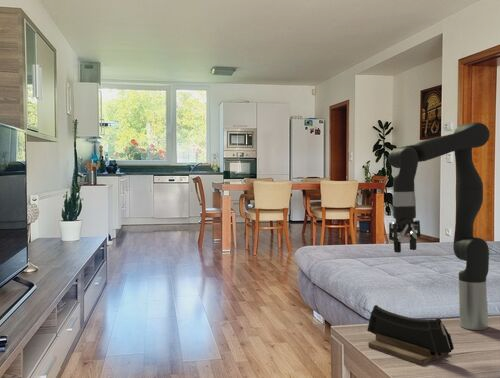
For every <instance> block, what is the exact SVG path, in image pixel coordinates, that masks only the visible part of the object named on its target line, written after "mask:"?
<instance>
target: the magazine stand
mask: <svg viewBox="0 0 500 378" xmlns="http://www.w3.org/2000/svg"><path fill="white" fill-rule="evenodd" d="M367 344H368V348H370V347H371V348H370V349H373V348H374V349H373V350H376V349H377V351H379V352H382V353H384V354H385V353H386V354H388V355H391V356H394V357H396V358H399V359H402V360H405V361H408V362H411V363H415V364H416V365H420V366H423V365H425V364H427V363H431V362H433V361H435V360H439V359H440V358H442V357H446V356H447V355H449V354H450V353H441V354H442V356H439V355H438V353H433V352H431V350H429V349H426V348H423V347H420V346H417V345H413V344H410V343H407V342H404V341H400V340H397V339H394V338H391V337H388V336H384V335H381V334H378V333H377V334H376V335H375V340H371V341H368V343H367Z"/></svg>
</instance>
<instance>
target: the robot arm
mask: <svg viewBox="0 0 500 378" xmlns="http://www.w3.org/2000/svg"><path fill="white" fill-rule="evenodd" d="M490 135H491V134H490V129H489V127H488V126H487V125H486V124H484V123H482V122H470V123H465V124H464V123H463V124H461V125H458V126H457V127H456V128H455V129H454V131H453V133H449V134H446V135H443V136H442V135H441V136H437V137H432V138H428V139H425V140H422V141H419V142H416V143H414V144H410V145H406V146H402V147H401V146H400V147H398V148H395V149H393V150H391V151H390V152H389V154H388V157H387V159H388V164H389V165H390V166H392V168H395V169H399V170H398V171H399V172H398V174H397V175H395V176H394V177H393V179H392V180H393V181H392V182H393V183H392V185H393V186H392V189H393V195H392V213H393V214H392V215H393V216H392V218H394V219H395V222H388V223H389V225H388V231H389V232H388V239H389V241H392V242H393V251H394V253H396V254H397V253H401V252H402V243H401V240H402V238H403V237H404V235H407V236H408V237H409V250H411V251H416V250H417V239H418V238H420V237H421V235H422V234H421V223H420V220H417V219H416V217H417V211H416V210H417V207H416V205H417V204H416V200H417V199H416V194H415V178H416V175H417V170H418V165H419V163H421V162H427V161H430V160H433V159H436V158H438V157H441V156H445V155H447V154H450V153H452V152H454V159H455V160H454V161H455V224H454V225H455V227H454V235H453V236H454V237H453V243H452V244H453V253H454V255H455V257H456V258H457V259H458V260H461V261H466V262H465V264H466V266H465V268H464V270H460V271H459V272H458V301H459V302H458V304H459V305H458V306H459V326H460V327H462V328H463V329H468V330H472V331H473V330H474V331H484V330H487V329H488V326H489V311H488V310H489V309H488V299H487V296H488V295H487V294H488V293H487V276H488V273H489V267H490V264H489V263H490V249H489V245H488V243H487V241H486V240H485V239H483V238H480V237H477V236H476V237H475V236H474V223H475V220H476V217H477V216H478V214H479V212H480V210H481V207H482V205H483V202H484V184H483V181H482V178H481V176H480V174H479V172H478V171H477V168H476V167H475V165H474V162H473V149H475V148H476V149H477V148H480V147H483V146H485V145H486V144H488V141H489V139H490ZM415 219H416V220H415Z"/></svg>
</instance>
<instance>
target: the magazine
mask: <svg viewBox="0 0 500 378" xmlns="http://www.w3.org/2000/svg"><path fill="white" fill-rule="evenodd" d="M366 331H367V332H368V333H369V332H370V333H372V334H374V335H375V336H376V334H377V333H378V334H381V335H384V336H388V337H391V338H394V339H397V340H400V341H404V342H407V343H410V344H413V345H417V346H420V347H423V348H426V349H429V350H431V352H433V353H438V355H439V356H442V354H441V353H449V354H450V353H451V352H452V351H453V350H454V349H455V347H454V344H453V340H452V336H451V334H450V333H449V331H448V329H447V328H446V326H445V325H444V324H443V323H442V319H441V318H436V319H425V318H424V319H422V318H421V319H420V318H415V317H410V316H409V317H408V316H403V315H400V314H397V313H396V312H395V313H394V312H390V311H388V310H386V309H383V308H382V307H380V306H378V305H377V304H375V305H374V306H373V308H372V310H371V312H370V315H369V321H368V325H367V330H366Z"/></svg>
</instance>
